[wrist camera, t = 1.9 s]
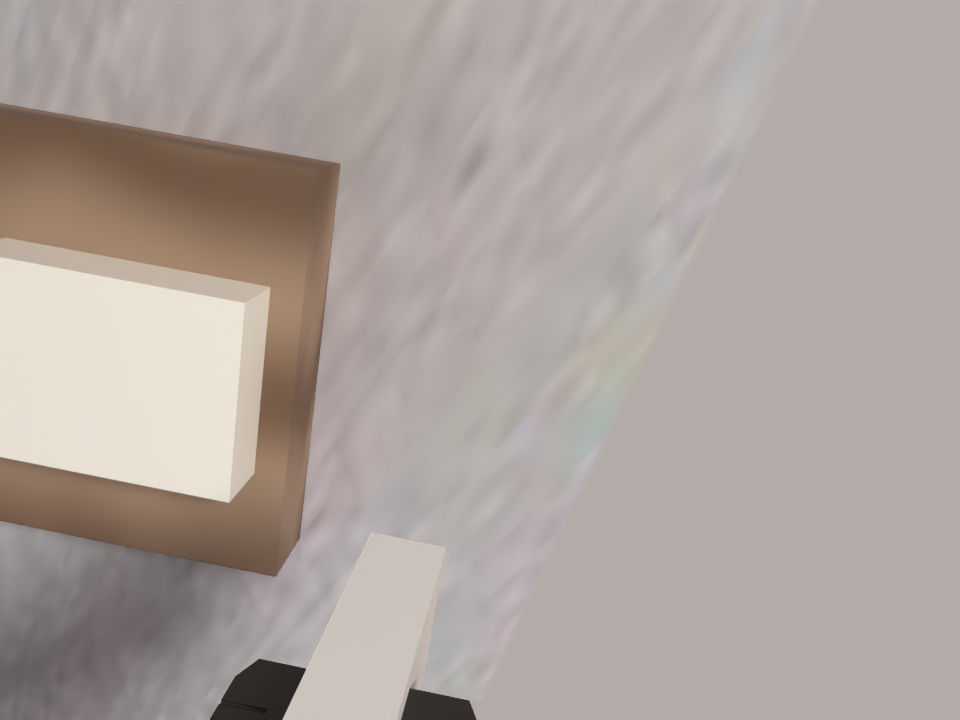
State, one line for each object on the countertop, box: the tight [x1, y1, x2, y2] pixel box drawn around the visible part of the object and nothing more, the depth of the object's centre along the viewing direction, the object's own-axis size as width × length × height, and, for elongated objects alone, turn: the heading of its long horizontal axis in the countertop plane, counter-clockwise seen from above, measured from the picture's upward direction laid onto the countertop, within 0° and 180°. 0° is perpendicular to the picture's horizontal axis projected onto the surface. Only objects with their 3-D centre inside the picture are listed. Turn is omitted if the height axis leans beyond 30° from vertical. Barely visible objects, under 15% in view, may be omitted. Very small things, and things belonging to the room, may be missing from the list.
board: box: [0, 103, 340, 577], centre depth 27 cm, size 13×12×2 cm
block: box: [0, 238, 270, 503], centre depth 25 cm, size 6×8×2 cm
